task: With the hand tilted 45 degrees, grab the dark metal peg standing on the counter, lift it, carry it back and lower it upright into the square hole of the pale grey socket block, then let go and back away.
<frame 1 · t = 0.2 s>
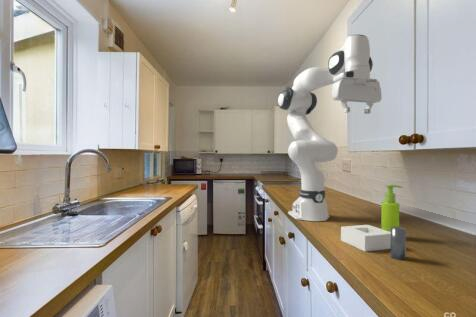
hand: (357, 113, 103), 48 cm above the worktop, tool pointing down, fingers open, 8 cm apart
metal peg: (397, 257, 81), on the worktop
soap dispenser: (391, 238, 102), on the worktop
socket block: (366, 244, 94), on the worktop
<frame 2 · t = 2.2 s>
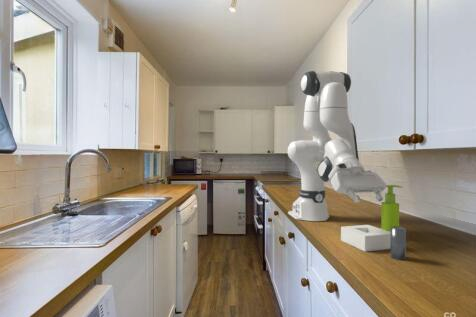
hand: (369, 200, 92), 15 cm above the worktop, tool tilted 45°, fingers open, 8 cm apart
nothing on the worktop moved.
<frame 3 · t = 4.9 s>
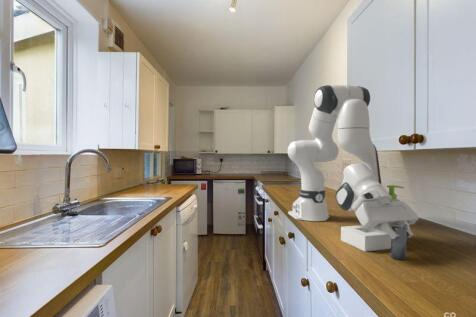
hand: (403, 237, 80), 7 cm above the worktop, tool tilted 45°, fingers closed on metal peg, 4 cm apart
metal peg: (397, 257, 81), on the worktop, touching gripper
soap dispenser: (391, 238, 102), on the worktop, touching arm
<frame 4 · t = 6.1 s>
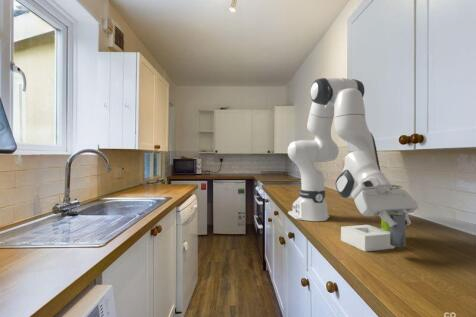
hand: (401, 225, 80), 10 cm above the worktop, tool tilted 45°, fingers closed on metal peg, 4 cm apart
metal peg: (397, 245, 81), point 4 cm above the worktop, touching gripper
soap dispenser: (391, 238, 102), on the worktop
when the fingers open (8 cm above the worktop, at t = 10.9 s): metal peg drops 1 cm, resting in socket block.
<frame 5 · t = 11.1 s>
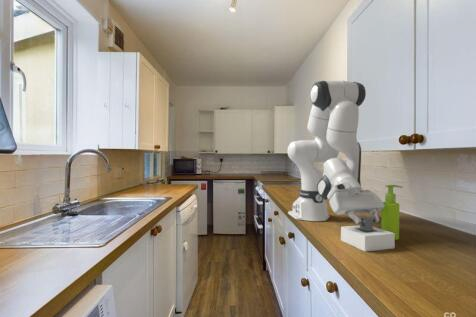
hand: (368, 222, 93), 8 cm above the worktop, tool tilted 45°, fingers open, 6 cm apart
metal peg: (366, 243, 94), resting in socket block
everything else where it was.
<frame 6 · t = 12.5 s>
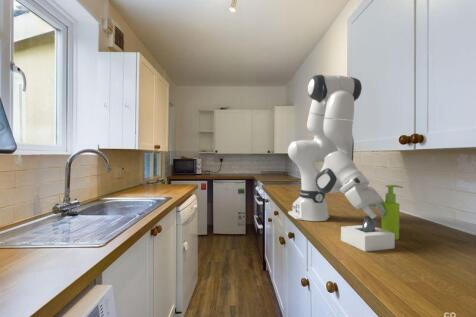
hand: (380, 216, 95), 9 cm above the worktop, tool tilted 40°, fingers open, 8 cm apart
metal peg: (364, 242, 93), point 1 cm above the worktop, tilted 21°, touching gripper, socket block
everything else where it was.
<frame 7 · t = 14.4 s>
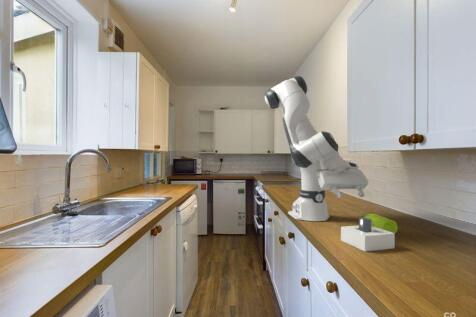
hand: (351, 196, 101), 16 cm above the worktop, tool tilted 45°, fingers open, 8 cm apart
metal peg: (365, 244, 93), resting in socket block
soap dispenser: (392, 228, 105), point 3 cm above the worktop
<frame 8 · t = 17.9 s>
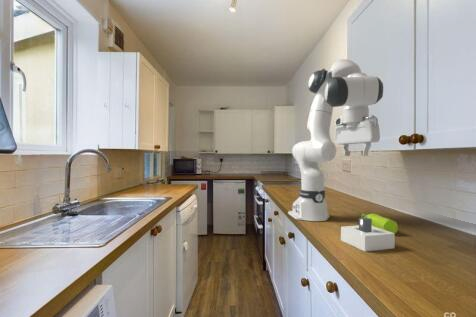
hand: (355, 155, 99), 31 cm above the worktop, tool pointing down, fingers open, 8 cm apart
nothing on the worktop moved.
at the end: metal peg 0.8 cm off-centre on the socket block, point 0.0 cm above the socket block's base; metal peg tilted 0°; the gripper is holding nothing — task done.
